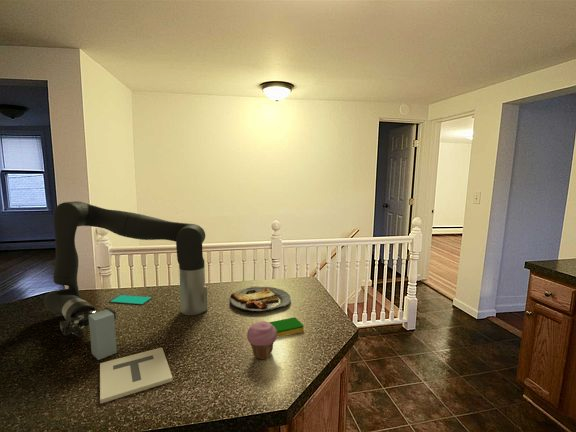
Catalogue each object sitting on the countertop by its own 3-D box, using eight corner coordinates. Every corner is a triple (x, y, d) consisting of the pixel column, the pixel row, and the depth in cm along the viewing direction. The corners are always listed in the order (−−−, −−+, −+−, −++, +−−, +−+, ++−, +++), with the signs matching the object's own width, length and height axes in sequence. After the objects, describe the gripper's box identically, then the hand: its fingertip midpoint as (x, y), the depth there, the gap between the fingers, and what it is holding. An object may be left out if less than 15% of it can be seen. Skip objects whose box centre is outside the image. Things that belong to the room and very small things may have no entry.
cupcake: (272, 366, 87) (272, 332, 86) (242, 361, 90) (242, 328, 88) (280, 349, 96) (280, 318, 95) (253, 345, 98) (253, 314, 97)
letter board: (162, 350, 95) (162, 347, 94) (172, 381, 81) (172, 377, 81) (100, 366, 87) (100, 363, 86) (100, 403, 73) (100, 399, 73)
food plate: (241, 319, 114) (241, 310, 114) (221, 297, 135) (221, 289, 134) (300, 307, 127) (300, 299, 126) (274, 289, 147) (274, 281, 146)
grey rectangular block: (109, 346, 97) (107, 309, 95) (116, 352, 93) (114, 314, 92) (91, 353, 93) (88, 315, 91) (98, 360, 90) (95, 320, 88)
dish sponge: (258, 330, 108) (258, 323, 107) (295, 323, 113) (295, 316, 113) (265, 340, 101) (265, 333, 101) (304, 332, 107) (304, 325, 107)
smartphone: (120, 294, 135) (152, 297, 133) (120, 296, 135) (153, 299, 133) (108, 301, 128) (142, 304, 126) (108, 303, 128) (142, 306, 126)
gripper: (51, 308, 99) (68, 324, 89) (101, 295, 110) (121, 308, 99) (54, 331, 100) (71, 349, 90) (102, 315, 111) (123, 330, 101)
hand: (97, 327), depth 95 cm, fingers open, 8 cm apart
